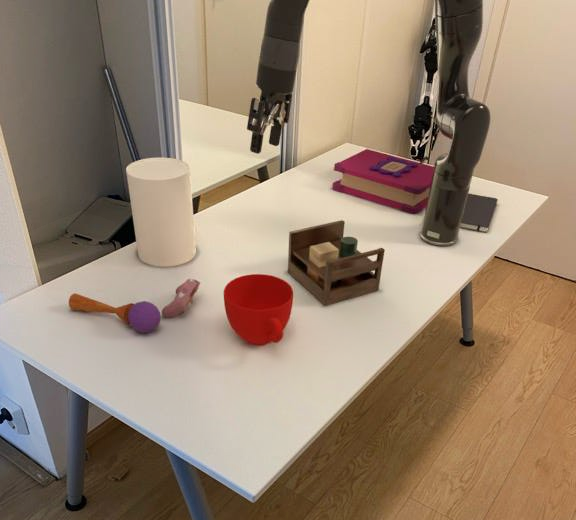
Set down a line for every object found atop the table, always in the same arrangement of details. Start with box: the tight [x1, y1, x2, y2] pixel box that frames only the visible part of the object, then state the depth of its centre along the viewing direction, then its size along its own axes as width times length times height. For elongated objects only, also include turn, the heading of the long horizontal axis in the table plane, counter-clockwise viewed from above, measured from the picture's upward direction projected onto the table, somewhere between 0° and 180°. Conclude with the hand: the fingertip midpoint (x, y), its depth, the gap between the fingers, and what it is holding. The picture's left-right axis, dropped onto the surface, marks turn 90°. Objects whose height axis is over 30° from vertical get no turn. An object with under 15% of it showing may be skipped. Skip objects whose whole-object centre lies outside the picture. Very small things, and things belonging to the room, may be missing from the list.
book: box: [331, 148, 434, 215], centre depth 171 cm, size 21×28×8 cm
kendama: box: [68, 293, 162, 334], centre depth 115 cm, size 6×6×20 cm
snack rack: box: [287, 219, 386, 307], centre depth 128 cm, size 14×16×10 cm
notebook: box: [460, 192, 499, 233], centre depth 162 cm, size 13×2×21 cm
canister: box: [125, 157, 197, 267], centre depth 132 cm, size 14×14×20 cm
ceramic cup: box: [223, 273, 294, 346], centre depth 110 cm, size 13×17×10 cm
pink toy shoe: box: [161, 277, 201, 319], centre depth 119 cm, size 10×5×7 cm, turn 169°
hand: (264, 148), depth 123 cm, fingers open, 8 cm apart
